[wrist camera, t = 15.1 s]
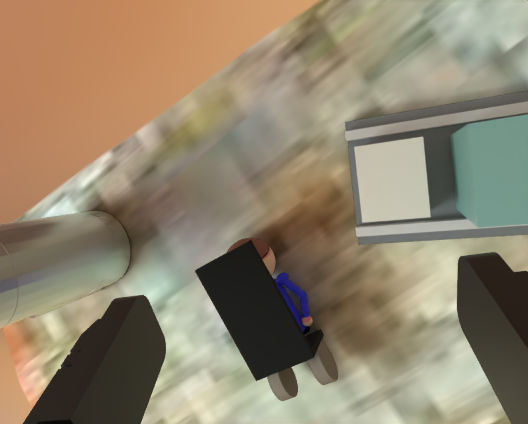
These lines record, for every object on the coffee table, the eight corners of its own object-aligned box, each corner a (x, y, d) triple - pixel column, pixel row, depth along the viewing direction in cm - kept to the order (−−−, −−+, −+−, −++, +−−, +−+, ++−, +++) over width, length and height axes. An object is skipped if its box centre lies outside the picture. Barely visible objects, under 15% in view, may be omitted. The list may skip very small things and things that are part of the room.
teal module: (456, 209, 32) (477, 227, 22) (449, 134, 31) (467, 121, 22) (512, 204, 30) (560, 221, 21) (506, 125, 30) (551, 107, 20)
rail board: (360, 241, 36) (357, 246, 34) (347, 123, 35) (343, 120, 33) (630, 224, 29) (649, 229, 27) (622, 76, 28) (641, 68, 26)
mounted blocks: (366, 216, 34) (362, 222, 30) (359, 148, 34) (354, 146, 30) (622, 194, 28) (655, 199, 24) (617, 111, 27) (650, 102, 24)
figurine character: (349, 346, 39) (271, 219, 39) (342, 395, 32) (246, 241, 32) (294, 368, 42) (220, 249, 41) (276, 419, 35) (186, 276, 34)
